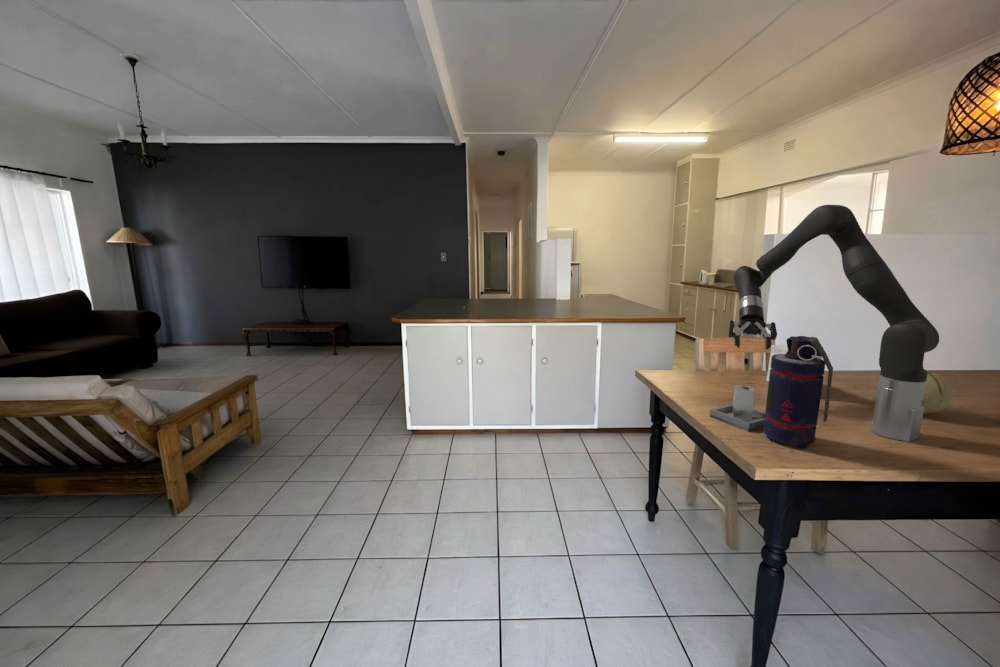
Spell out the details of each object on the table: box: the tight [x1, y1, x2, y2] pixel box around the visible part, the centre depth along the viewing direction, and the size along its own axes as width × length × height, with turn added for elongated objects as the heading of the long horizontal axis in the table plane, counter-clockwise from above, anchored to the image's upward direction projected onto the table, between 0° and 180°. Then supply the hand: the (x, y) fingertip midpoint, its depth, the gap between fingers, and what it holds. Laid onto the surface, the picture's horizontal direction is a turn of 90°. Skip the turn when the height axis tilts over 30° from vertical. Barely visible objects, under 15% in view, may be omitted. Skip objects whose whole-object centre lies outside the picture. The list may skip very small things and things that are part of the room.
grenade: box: [763, 335, 834, 449], centre depth 108 cm, size 14×12×30 cm
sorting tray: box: [709, 403, 766, 432], centre depth 126 cm, size 13×13×2 cm
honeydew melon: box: [921, 370, 953, 415], centre depth 129 cm, size 15×15×15 cm
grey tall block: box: [732, 384, 756, 421], centre depth 125 cm, size 5×5×10 cm
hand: (752, 347), depth 135 cm, fingers open, 8 cm apart
